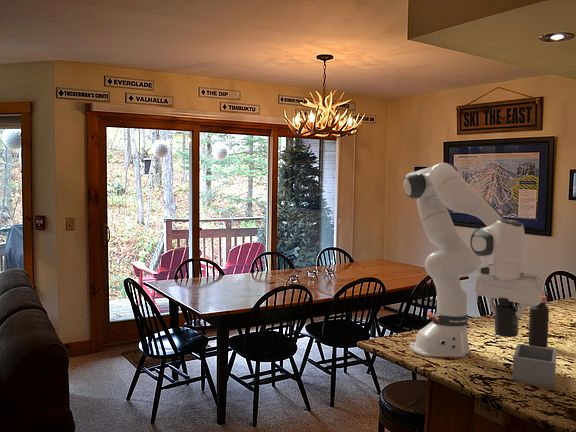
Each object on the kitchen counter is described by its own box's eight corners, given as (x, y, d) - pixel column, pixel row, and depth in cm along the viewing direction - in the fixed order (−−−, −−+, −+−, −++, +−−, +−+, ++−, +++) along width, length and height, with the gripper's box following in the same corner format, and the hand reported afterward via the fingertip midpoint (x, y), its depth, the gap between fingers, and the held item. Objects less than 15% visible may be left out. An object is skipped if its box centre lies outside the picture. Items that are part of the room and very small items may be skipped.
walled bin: (553, 388, 162) (554, 363, 161) (512, 380, 167) (513, 356, 167) (555, 372, 176) (556, 349, 175) (517, 365, 181) (518, 343, 181)
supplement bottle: (512, 331, 166) (512, 294, 165) (522, 337, 159) (522, 299, 158) (491, 332, 166) (491, 295, 165) (500, 337, 159) (500, 299, 158)
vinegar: (549, 349, 200) (551, 298, 199) (530, 347, 202) (532, 297, 201) (544, 343, 207) (546, 294, 206) (526, 342, 208) (528, 293, 207)
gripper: (546, 274, 155) (544, 319, 156) (483, 265, 171) (481, 306, 172) (536, 277, 151) (534, 323, 152) (473, 267, 167) (471, 309, 168)
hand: (506, 314), depth 162 cm, fingers closed on supplement bottle, 7 cm apart
